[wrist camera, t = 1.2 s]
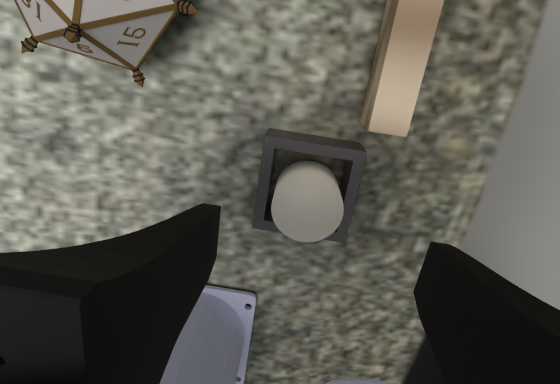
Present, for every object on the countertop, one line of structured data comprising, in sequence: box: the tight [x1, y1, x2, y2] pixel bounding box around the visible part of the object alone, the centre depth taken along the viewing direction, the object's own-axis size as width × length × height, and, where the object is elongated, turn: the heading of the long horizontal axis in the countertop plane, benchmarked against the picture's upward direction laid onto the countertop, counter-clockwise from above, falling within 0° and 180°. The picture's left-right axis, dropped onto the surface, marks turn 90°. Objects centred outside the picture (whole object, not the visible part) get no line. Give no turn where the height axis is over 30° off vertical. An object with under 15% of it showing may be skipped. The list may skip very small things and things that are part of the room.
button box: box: [252, 128, 367, 243], centre depth 21 cm, size 6×6×2 cm
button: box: [271, 160, 344, 242], centre depth 19 cm, size 4×4×3 cm
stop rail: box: [360, 0, 444, 137], centre depth 18 cm, size 10×2×3 cm, turn 171°
